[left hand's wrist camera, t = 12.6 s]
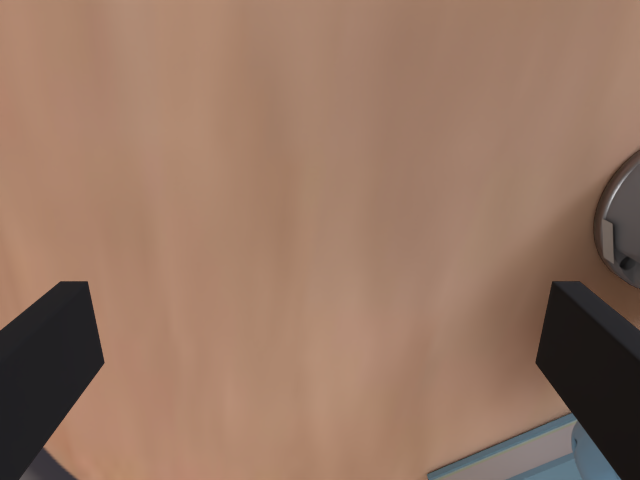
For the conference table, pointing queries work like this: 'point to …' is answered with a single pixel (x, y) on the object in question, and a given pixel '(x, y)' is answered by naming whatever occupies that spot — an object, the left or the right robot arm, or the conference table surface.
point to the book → (521, 457)
